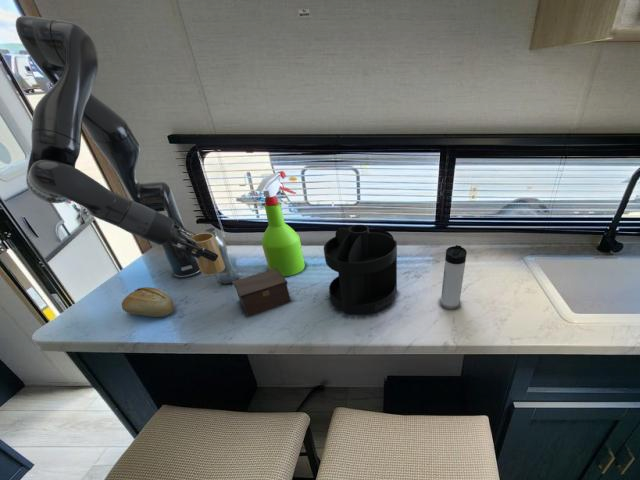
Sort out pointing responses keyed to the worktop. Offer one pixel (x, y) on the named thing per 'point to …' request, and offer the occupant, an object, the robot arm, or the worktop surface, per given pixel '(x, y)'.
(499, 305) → the worktop surface
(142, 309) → the bread roll
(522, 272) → the worktop surface
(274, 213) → the spray bottle
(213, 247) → the cup
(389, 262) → the container
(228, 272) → the plastic bottle
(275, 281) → the box
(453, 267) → the travel mug
